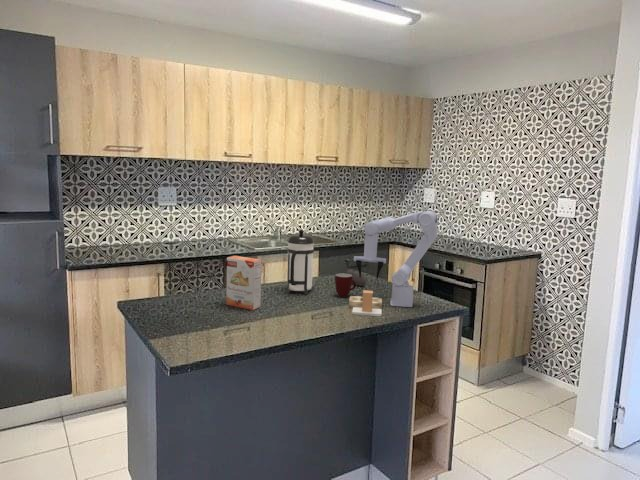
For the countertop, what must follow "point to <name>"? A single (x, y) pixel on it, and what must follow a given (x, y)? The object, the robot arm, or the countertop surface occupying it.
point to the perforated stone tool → (356, 277)
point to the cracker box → (244, 282)
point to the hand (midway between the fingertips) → (368, 277)
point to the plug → (367, 301)
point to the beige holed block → (357, 301)
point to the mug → (344, 284)
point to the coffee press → (300, 263)
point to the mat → (374, 312)
